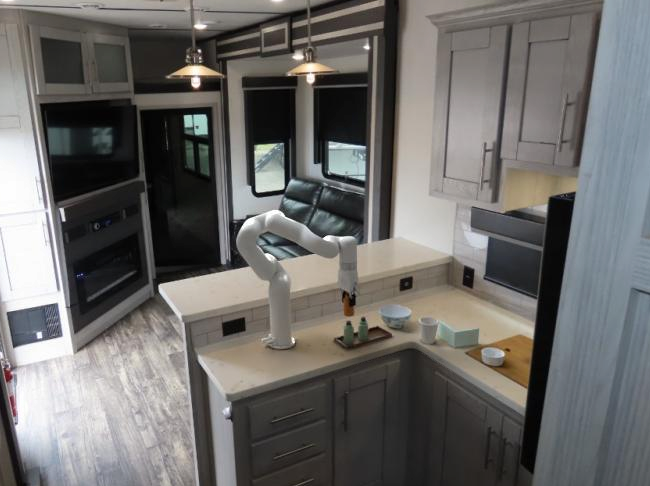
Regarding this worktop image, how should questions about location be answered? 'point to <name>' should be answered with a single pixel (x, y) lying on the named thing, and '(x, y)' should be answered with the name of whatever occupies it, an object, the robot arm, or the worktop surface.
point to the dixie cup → (428, 329)
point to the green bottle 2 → (363, 329)
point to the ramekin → (492, 356)
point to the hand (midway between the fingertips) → (348, 303)
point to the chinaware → (395, 315)
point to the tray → (373, 336)
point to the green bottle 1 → (348, 333)
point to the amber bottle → (347, 309)
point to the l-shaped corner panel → (458, 336)
